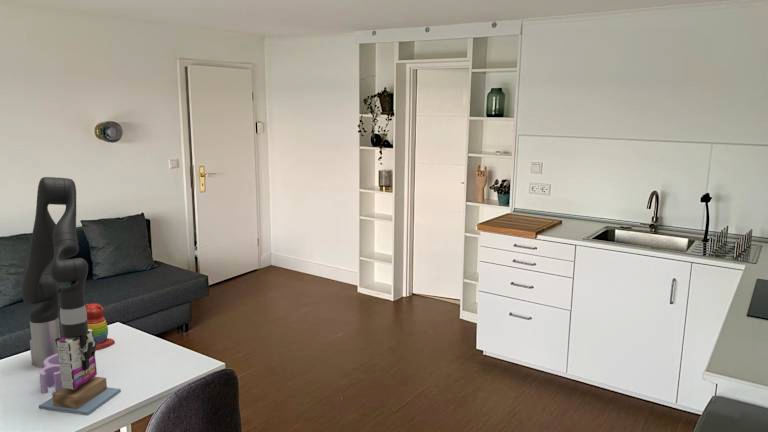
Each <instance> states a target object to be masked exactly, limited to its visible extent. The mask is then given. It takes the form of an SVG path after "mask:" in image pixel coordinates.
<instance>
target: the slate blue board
mask: <svg viewBox="0 0 768 432" xmlns="http://www.w3.org/2000/svg"><path fill="white" fill-rule="evenodd" d="M121 392H122V390H121V388H116V387H115V388H114V387H110V386H109V387H107V389H106V390H105V391H103V392H102V393H100V394H99V395H97V396H96V397H94V398H93V399H92V400H90V401H89V402H87V403H86V404H84V405H83V406H81V407H80V408H78V409H74V408H66V407H59V406H53V398H52V397H50V398H49V399H47V400H46V401H44V402H42V403H40V404H39V405H38V409H39V408H40V409H41V410H46V411H47V410H48V411H55V412H60V413H61V412H62V413H71V414H75V415H76V414H77V415H84V416H89V415H91V414H92V413H93V412H95V411H96V410H97V409H99V408H100V407H102V406H103V405H104V404H106V403H107V402H109V401H110V400H111V399H113V398H114V397H115V396H117V395H118V394H120V393H121Z"/></svg>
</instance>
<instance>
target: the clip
mask: <svg viewBox="0 0 768 432" xmlns="http://www.w3.org/2000/svg"><path fill="white" fill-rule="evenodd" d="M38 373H39V382H40V383H39V384H40V391H41V393H42V394H47V393H49V389H48V388H49V387H52V386H54V390H55V391H54V393H55V392H56V391H58V390H60V389H61V388H62V384H61V375H60V365H59V357H58V354H55V355H52V356H50V357H48V358H46V359H45V360H44V367H42V368H41V369H40V370H39V372H38Z"/></svg>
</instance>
